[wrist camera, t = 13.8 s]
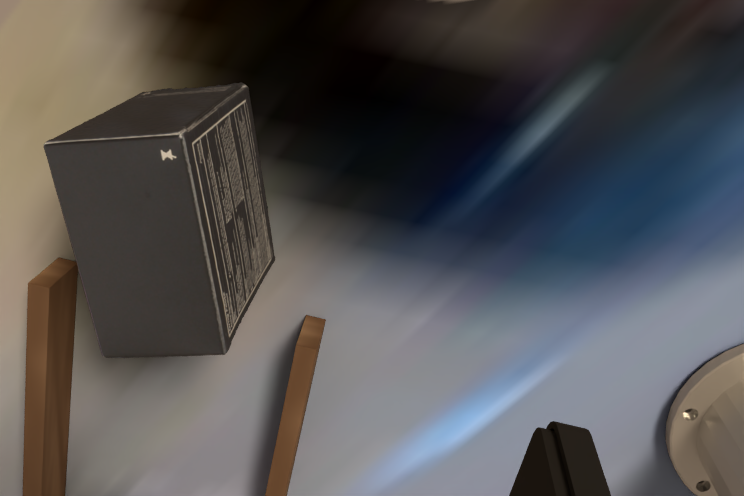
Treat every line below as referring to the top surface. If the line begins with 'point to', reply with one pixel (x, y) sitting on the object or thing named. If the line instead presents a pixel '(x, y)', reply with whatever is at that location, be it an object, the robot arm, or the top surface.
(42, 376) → the wooden u-shaped frame
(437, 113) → the top surface
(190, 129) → the small box
